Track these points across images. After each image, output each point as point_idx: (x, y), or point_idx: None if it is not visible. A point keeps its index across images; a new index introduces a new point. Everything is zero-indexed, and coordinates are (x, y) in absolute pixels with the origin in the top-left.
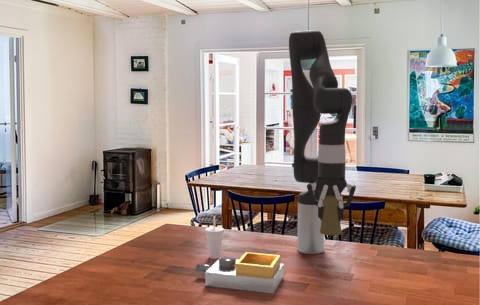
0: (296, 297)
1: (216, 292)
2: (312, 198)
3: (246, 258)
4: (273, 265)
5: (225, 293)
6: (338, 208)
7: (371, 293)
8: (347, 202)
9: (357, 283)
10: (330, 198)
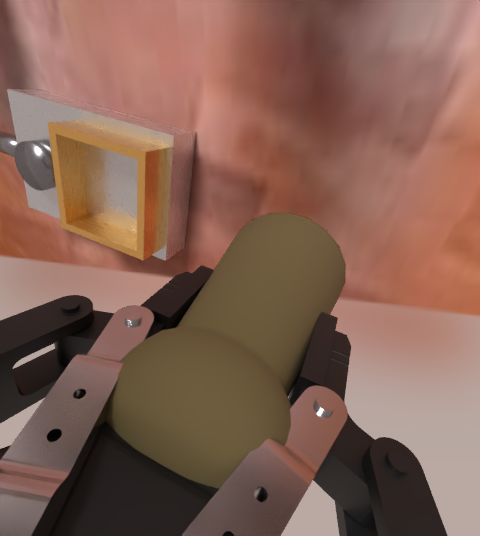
0: None
1: None
2: (40, 383)
3: (67, 148)
4: (143, 247)
5: None
6: (287, 396)
7: (445, 266)
8: (349, 529)
9: (432, 184)
10: None
